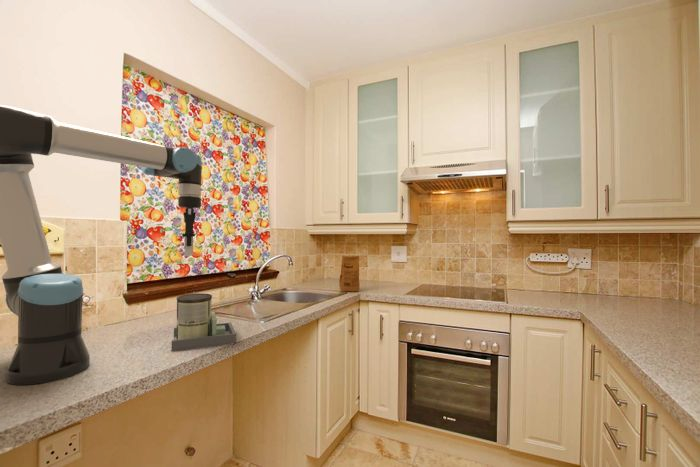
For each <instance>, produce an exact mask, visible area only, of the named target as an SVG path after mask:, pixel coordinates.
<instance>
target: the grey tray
mask: <svg viewBox="0 0 700 467" xmlns="http://www.w3.org/2000/svg"><path fill="white" fill-rule="evenodd" d="M222 325H225V328H226V330H225V334H222V335H213V336H204V337H195V338H185V339H176V337H177V326H176V327H173V339H171V350H170V351H171V352H176V351H182V350H183V351H185V350H193V349H200V348H201V349H202V348H209V347H217V346H225V345H233V344H237V333H236V331H235V328H234V325H233V322H222V323H217V326H222Z"/></svg>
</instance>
